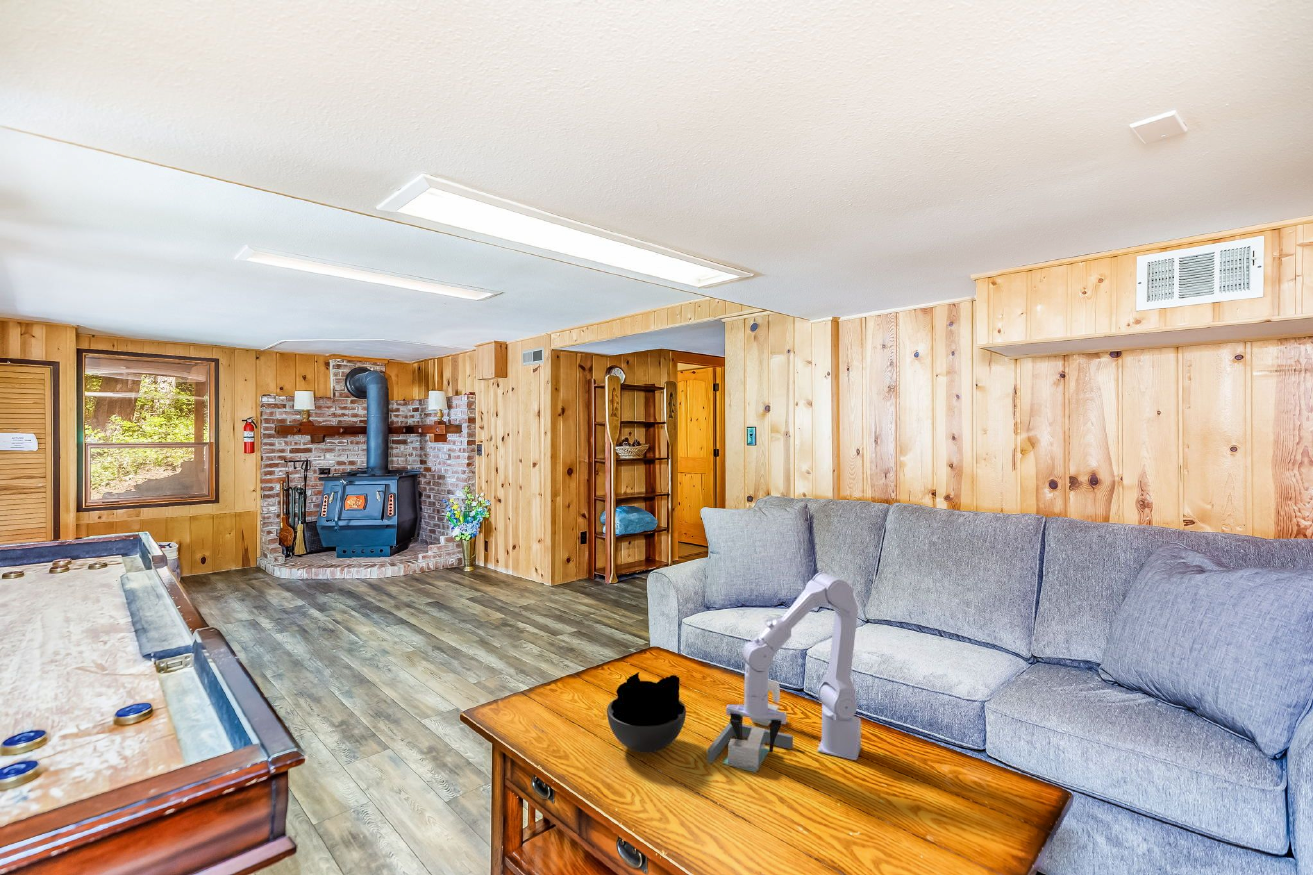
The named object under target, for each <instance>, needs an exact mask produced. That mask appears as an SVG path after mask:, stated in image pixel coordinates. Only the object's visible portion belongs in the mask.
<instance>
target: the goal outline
mask: <svg viewBox="0 0 1313 875" xmlns="http://www.w3.org/2000/svg"><path fill="white" fill-rule="evenodd" d="M768 753H770V752H769V747H766V746H765V750H764V753H763V756H762V760H761V763H760V766H761V765H762V763H763V762H764V760H765V758H766V757H767V755H768ZM722 764H723V765H725V766H728V756H727V757H726V758H725V759H724V761H723V762H722ZM736 768H738V769H740V770H745V771H749V772H751V773H757V772H758V771H756V770H750V769H745V768H739V767H736Z"/></svg>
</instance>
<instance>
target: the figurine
mask: <svg viewBox="0 0 1313 875" xmlns="http://www.w3.org/2000/svg"><path fill="white" fill-rule="evenodd" d="M769 675H770V674H768V677H770V676H769ZM780 691H781V688H780V684H779V682H777V681H773V680H769V679H768V692H771V693H772V698H773V699H772V700H773V703H774V704H773V703H769V702H768V708H770V709H773V710H776V711H779V708H780V707H781V706H780V705H775V704H778V703H779V702H780V698H781V696H780V695H781V693H780ZM749 719H750V720H751V722H752V723H755V724H758V725H761V726H764V727H768V726H770V723H771V721H769V720H763V719H753V718H749Z"/></svg>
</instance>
